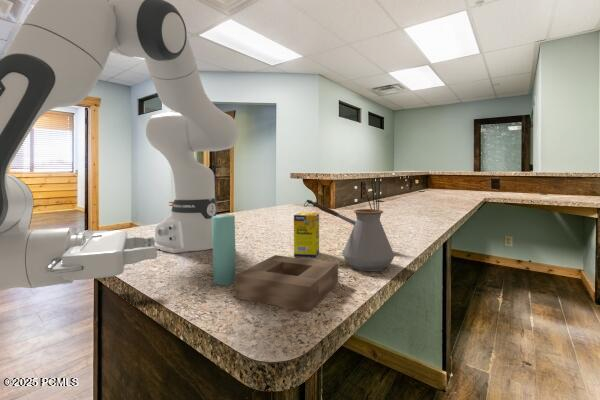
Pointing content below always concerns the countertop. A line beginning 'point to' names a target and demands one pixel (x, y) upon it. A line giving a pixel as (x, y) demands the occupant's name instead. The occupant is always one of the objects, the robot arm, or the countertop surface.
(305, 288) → the socket block
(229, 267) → the peg
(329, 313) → the countertop surface
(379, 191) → the reed diffuser
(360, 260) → the coffee pot
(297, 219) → the supplement box
